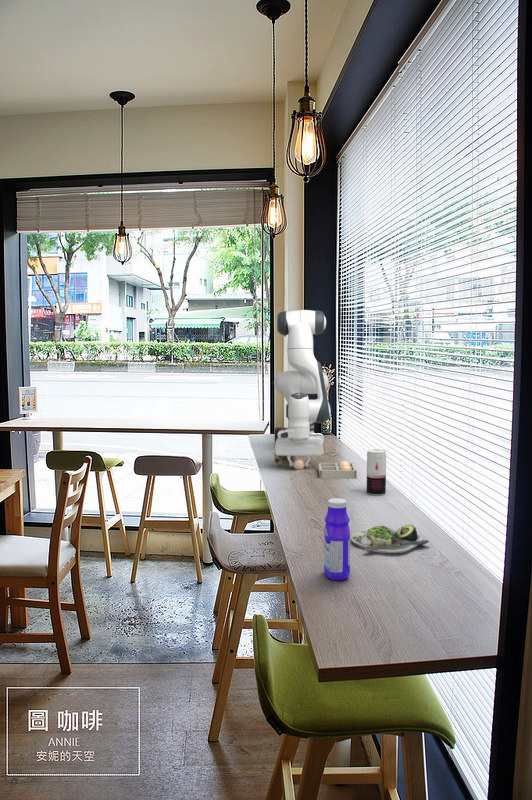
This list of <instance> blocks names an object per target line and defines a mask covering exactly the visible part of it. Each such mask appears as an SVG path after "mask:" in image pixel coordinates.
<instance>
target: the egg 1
mask: <svg viewBox="0 0 532 800" xmlns="http://www.w3.org/2000/svg"><path fill="white" fill-rule="evenodd" d="M304 465H305V464H304V460H303V459H302V458H297V459H295V461H294V463H293V466H294V467H293V468H294V469H295V470H298V471H299V470H303V469H304V467H305V466H304Z"/></svg>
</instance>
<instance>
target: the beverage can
mask: <svg viewBox="0 0 532 800" xmlns="http://www.w3.org/2000/svg"><path fill="white" fill-rule="evenodd" d="M386 490H387V451H386V450H385V449H368V450H367V452H366V493H367V495H370V494H371V496H375V495H380V496H384V495H385V494H386V492H387V491H386ZM383 494H384V495H383Z"/></svg>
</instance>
